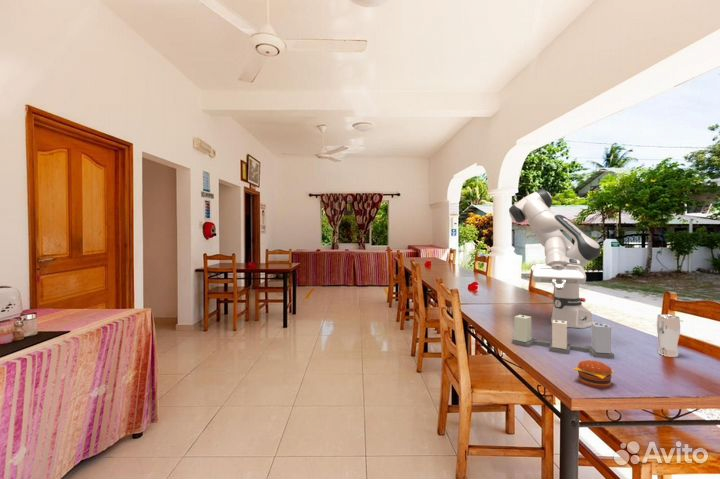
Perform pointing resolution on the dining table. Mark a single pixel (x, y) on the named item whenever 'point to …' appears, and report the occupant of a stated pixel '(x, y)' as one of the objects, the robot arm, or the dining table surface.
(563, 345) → the key two dots
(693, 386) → the dining table surface
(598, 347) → the key three dots
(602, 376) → the hamburger
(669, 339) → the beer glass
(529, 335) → the key one dot
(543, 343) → the grey flat piece
